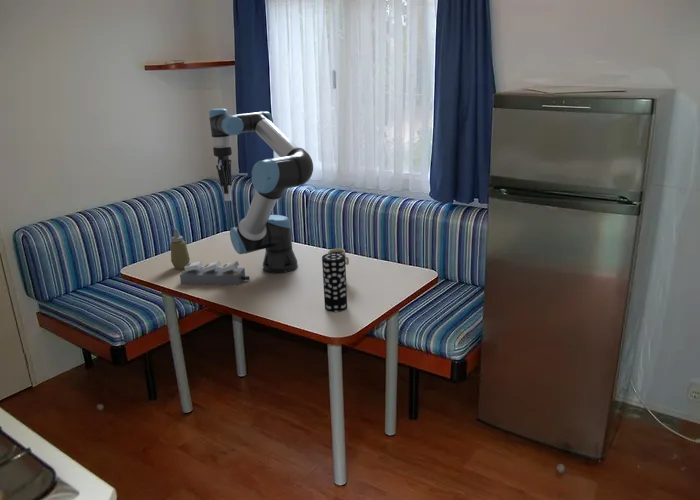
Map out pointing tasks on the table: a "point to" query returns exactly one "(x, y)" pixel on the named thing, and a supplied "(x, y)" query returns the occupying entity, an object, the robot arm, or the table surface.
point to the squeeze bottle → (179, 251)
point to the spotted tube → (334, 282)
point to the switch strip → (214, 276)
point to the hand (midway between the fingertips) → (228, 200)
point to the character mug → (341, 253)
